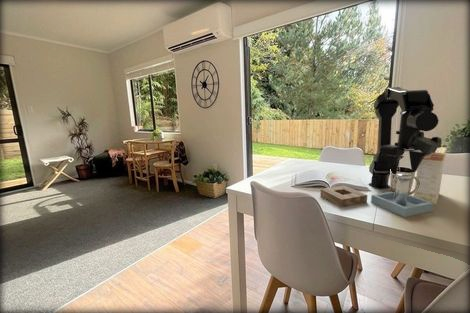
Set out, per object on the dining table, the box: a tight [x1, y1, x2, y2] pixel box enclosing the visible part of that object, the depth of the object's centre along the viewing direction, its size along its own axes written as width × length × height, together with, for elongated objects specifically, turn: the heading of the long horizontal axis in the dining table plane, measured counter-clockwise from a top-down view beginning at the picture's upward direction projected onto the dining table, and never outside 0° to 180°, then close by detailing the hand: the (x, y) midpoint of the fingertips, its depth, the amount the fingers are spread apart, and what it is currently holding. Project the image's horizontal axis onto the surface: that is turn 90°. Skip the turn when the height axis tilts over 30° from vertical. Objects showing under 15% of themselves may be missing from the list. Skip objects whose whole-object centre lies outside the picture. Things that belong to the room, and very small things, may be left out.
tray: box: [370, 191, 435, 218], centre depth 82 cm, size 13×13×3 cm
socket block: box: [320, 185, 368, 208], centre depth 91 cm, size 12×12×3 cm
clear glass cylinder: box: [395, 172, 414, 206], centre depth 81 cm, size 5×5×11 cm
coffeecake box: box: [413, 146, 447, 205], centre depth 88 cm, size 15×7×20 cm, turn 134°
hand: (404, 172), depth 80 cm, fingers open, 9 cm apart
